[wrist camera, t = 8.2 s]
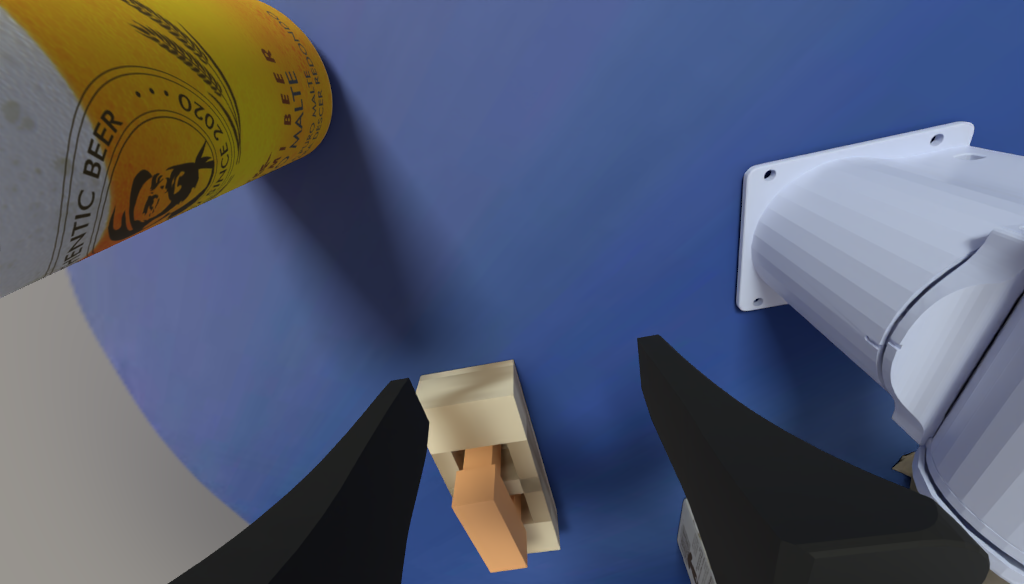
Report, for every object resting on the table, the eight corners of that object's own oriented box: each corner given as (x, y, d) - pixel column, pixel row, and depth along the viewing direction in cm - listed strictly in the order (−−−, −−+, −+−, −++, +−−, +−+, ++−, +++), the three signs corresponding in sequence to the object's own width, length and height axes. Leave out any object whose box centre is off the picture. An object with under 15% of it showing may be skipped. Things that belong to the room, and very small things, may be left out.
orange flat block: (497, 418, 27) (493, 499, 22) (525, 484, 30) (527, 567, 25) (463, 425, 27) (451, 506, 22) (494, 489, 30) (490, 572, 26)
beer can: (312, 183, 19) (-93, 433, 6) (178, 107, 18) (-725, 240, 5) (361, 61, 17) (-149, 73, 4) (210, -40, 15) (-1532, -600, 2)
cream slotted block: (513, 359, 25) (513, 394, 22) (556, 510, 33) (560, 549, 30) (420, 375, 26) (410, 411, 23) (485, 519, 33) (482, 558, 31)
